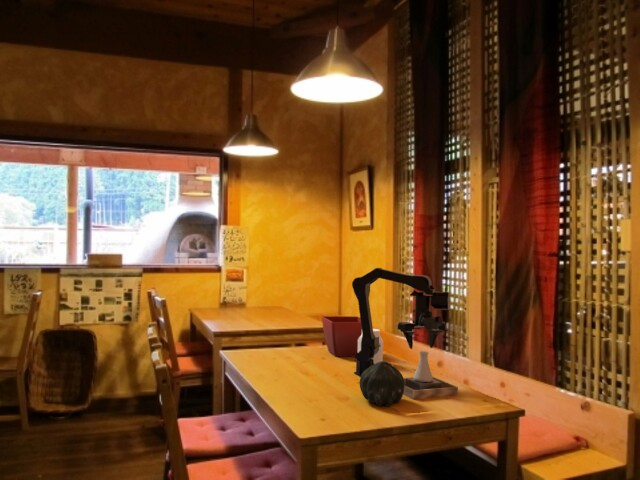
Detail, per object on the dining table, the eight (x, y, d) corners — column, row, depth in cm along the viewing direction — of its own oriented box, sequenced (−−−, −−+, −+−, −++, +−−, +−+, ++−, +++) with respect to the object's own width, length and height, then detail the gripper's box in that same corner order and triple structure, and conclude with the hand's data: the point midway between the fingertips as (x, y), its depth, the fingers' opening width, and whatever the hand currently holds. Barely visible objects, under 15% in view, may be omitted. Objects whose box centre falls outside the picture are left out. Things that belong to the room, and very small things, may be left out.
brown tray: (413, 401, 180) (413, 390, 180) (389, 389, 195) (390, 379, 195) (457, 397, 187) (457, 387, 187) (431, 385, 202) (431, 376, 202)
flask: (434, 378, 194) (435, 351, 194) (432, 383, 187) (433, 354, 187) (414, 376, 196) (415, 349, 196) (411, 381, 189) (412, 353, 189)
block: (419, 395, 185) (419, 384, 185) (405, 388, 194) (405, 377, 194) (440, 393, 189) (441, 382, 189) (426, 387, 197) (426, 376, 197)
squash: (379, 377, 190) (366, 349, 183) (417, 386, 181) (404, 358, 173) (361, 409, 182) (345, 382, 174) (399, 421, 173) (384, 393, 165)
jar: (385, 365, 233) (386, 331, 234) (365, 367, 230) (367, 332, 230) (373, 360, 244) (374, 327, 244) (354, 361, 241) (355, 328, 241)
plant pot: (370, 357, 250) (371, 321, 250) (331, 358, 245) (332, 322, 245) (356, 349, 268) (357, 316, 269) (320, 350, 263) (321, 316, 264)
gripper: (413, 311, 196) (411, 353, 196) (455, 310, 204) (453, 351, 203) (397, 307, 207) (396, 347, 207) (437, 306, 214) (436, 345, 214)
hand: (421, 348), depth 207 cm, fingers open, 9 cm apart
